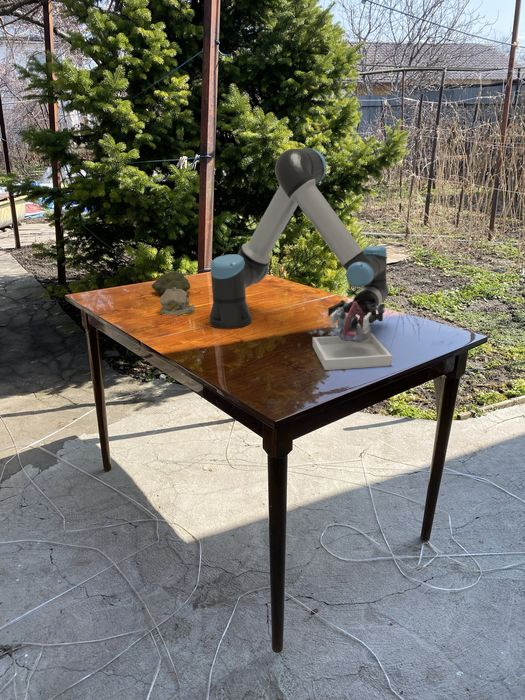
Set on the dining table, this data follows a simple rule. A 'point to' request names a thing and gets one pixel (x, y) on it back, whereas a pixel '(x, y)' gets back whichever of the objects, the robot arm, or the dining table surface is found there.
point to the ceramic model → (175, 302)
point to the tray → (351, 353)
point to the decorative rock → (171, 282)
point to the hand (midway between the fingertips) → (347, 322)
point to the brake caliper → (351, 325)
